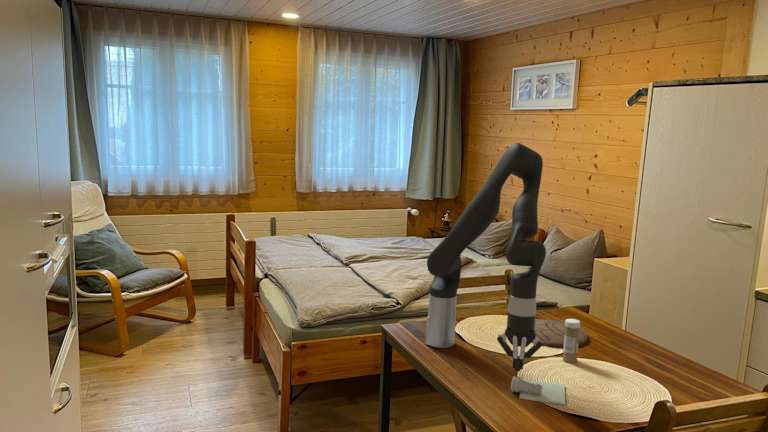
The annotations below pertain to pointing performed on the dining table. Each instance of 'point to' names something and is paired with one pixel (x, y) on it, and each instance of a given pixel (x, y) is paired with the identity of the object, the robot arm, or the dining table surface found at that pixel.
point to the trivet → (554, 333)
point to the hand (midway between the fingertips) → (517, 370)
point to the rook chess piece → (525, 386)
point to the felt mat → (546, 393)
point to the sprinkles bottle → (571, 340)
